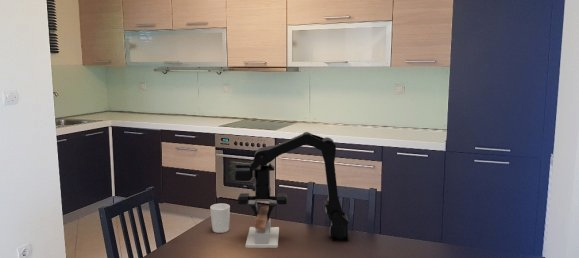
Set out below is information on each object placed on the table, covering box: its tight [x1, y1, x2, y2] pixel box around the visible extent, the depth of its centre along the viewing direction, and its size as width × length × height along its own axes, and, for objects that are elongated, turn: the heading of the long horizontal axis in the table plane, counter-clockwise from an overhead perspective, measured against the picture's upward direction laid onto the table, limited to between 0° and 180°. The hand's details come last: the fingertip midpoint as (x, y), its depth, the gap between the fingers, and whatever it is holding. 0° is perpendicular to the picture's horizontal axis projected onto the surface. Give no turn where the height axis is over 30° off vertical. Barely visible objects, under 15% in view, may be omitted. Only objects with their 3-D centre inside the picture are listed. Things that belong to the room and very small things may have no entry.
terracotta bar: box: [254, 205, 271, 230], centre depth 182 cm, size 4×15×4 cm, turn 175°
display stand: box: [245, 218, 280, 249], centre depth 183 cm, size 12×18×5 cm, turn 179°
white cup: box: [209, 203, 231, 234], centre depth 191 cm, size 8×8×10 cm
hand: (263, 219), depth 182 cm, fingers closed on terracotta bar, 4 cm apart
